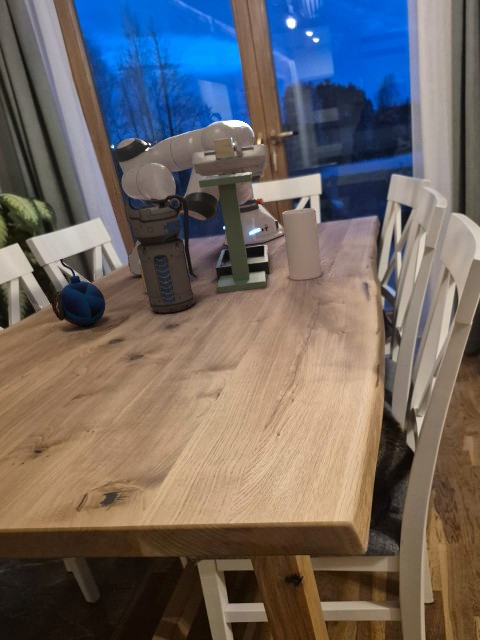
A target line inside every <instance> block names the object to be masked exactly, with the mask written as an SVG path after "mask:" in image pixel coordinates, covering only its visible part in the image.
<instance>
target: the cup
mask: <svg viewBox="0 0 480 640" xmlns="http://www.w3.org/2000/svg"><path fill="white" fill-rule="evenodd" d="M316 211H317V210H316V208H312V207H306V208H305V207H304V208H296V209H295V208H294V209H289V210H285V211H283V212H281V215H282V223H283V224H282V225H283V233H284V240H285V248H286V256H287V264H288V265H287V266H288V272H289V279H290V280H294V281H295V280H296V281H303V280H310V279H315V278H318V277H321V276H322V274H323V273H322V261H321V253H320V243H319V232H318V231H319V230H318V221H317V212H316Z"/></svg>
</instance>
